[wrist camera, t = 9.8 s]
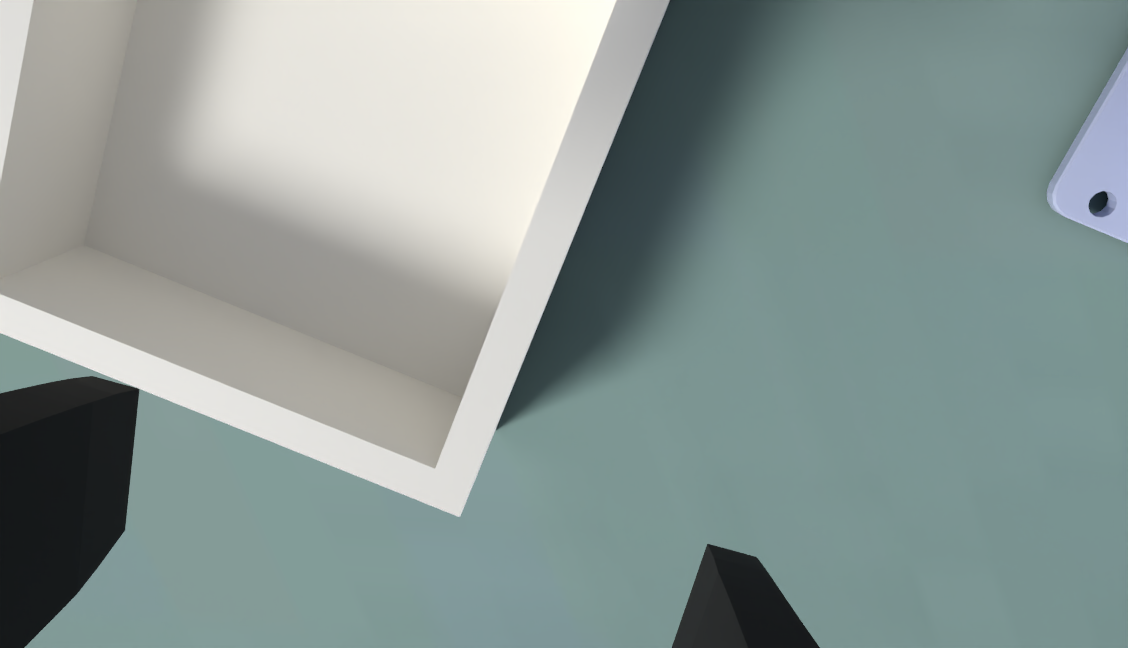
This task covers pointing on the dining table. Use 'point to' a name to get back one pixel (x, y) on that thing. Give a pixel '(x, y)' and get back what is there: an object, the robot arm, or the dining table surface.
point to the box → (308, 206)
